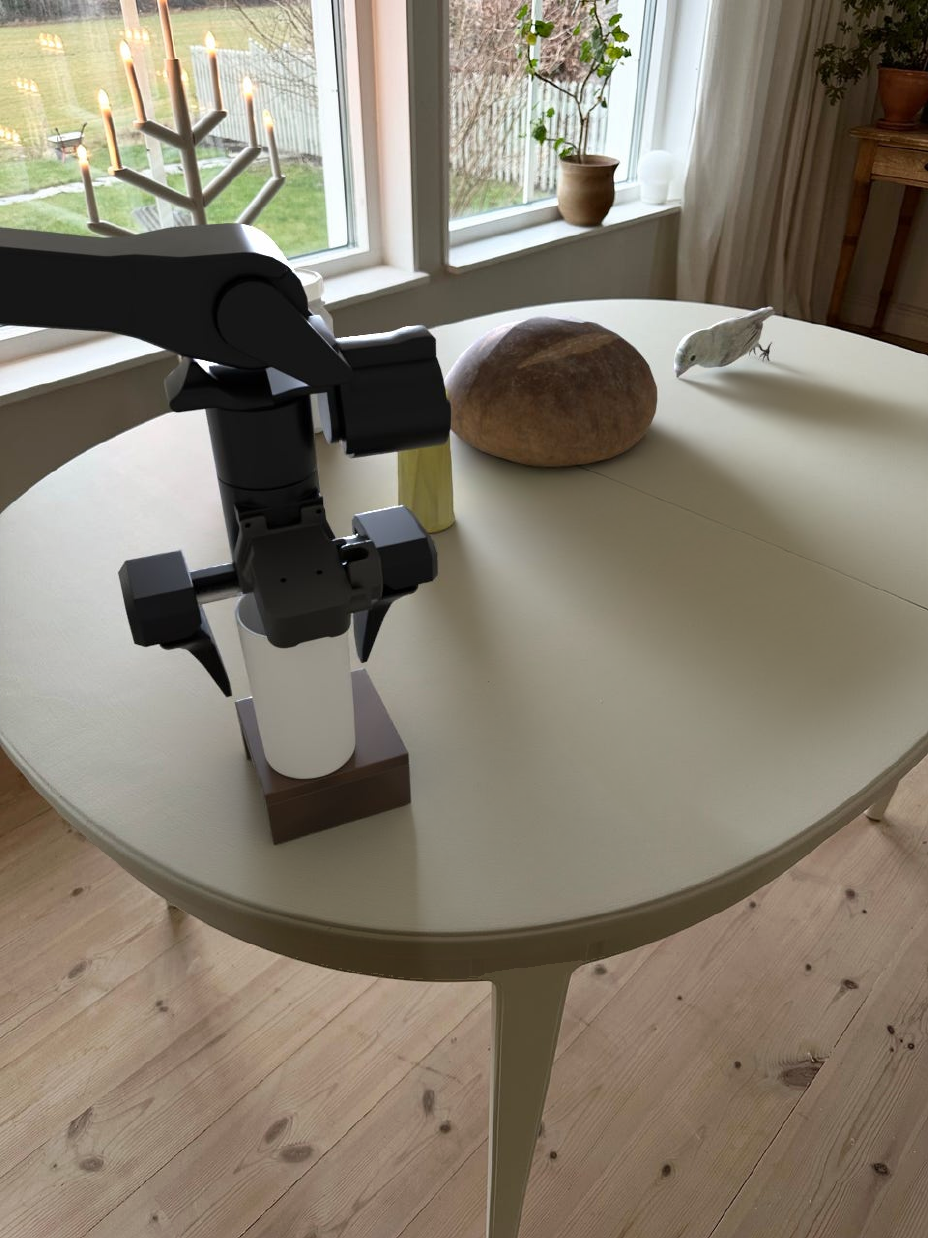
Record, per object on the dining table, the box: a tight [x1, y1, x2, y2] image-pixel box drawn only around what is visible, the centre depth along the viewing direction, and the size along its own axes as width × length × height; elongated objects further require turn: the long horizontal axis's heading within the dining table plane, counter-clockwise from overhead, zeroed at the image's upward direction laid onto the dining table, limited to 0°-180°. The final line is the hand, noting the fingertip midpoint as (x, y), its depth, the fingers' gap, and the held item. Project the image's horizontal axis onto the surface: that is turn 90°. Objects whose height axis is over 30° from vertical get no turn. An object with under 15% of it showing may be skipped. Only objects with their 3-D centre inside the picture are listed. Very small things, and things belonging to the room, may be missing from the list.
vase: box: [397, 388, 456, 534], centre depth 94 cm, size 6×6×14 cm
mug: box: [234, 593, 355, 779], centre depth 61 cm, size 10×7×12 cm, turn 38°
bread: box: [444, 316, 658, 468], centre depth 113 cm, size 26×27×13 cm
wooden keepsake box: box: [234, 667, 412, 846], centre depth 67 cm, size 10×10×5 cm
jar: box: [292, 267, 335, 434], centre depth 112 cm, size 10×10×18 cm
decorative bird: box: [673, 306, 776, 378], centre depth 130 cm, size 5×16×7 cm, turn 118°
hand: (296, 675), depth 62 cm, fingers open, 9 cm apart
